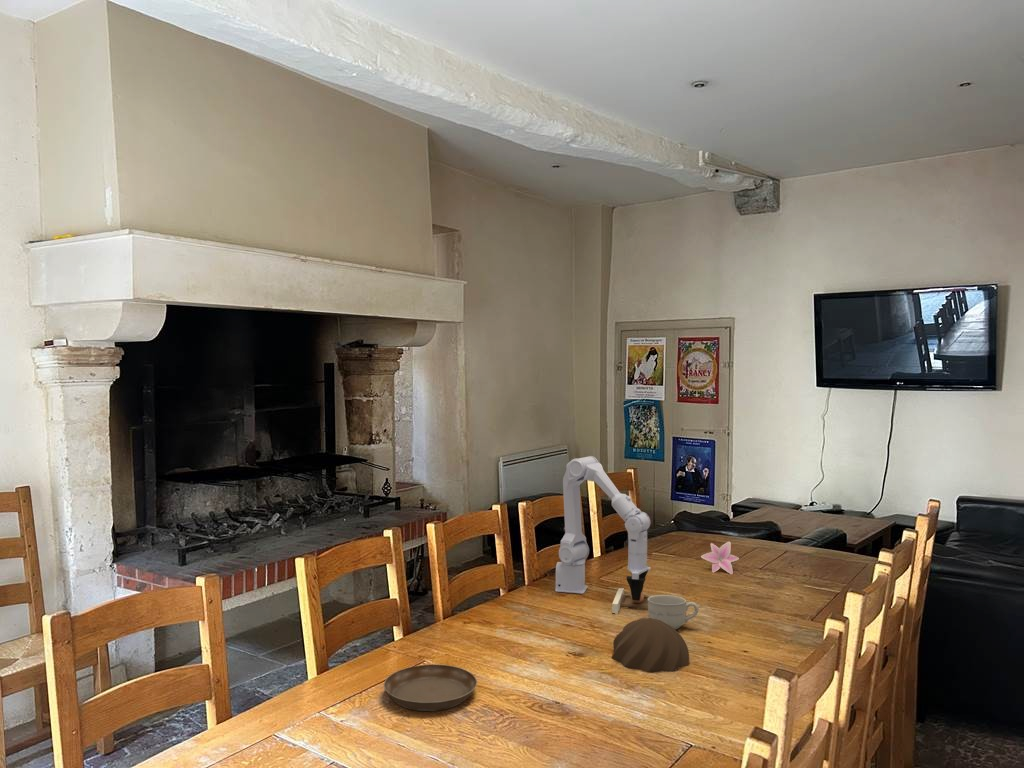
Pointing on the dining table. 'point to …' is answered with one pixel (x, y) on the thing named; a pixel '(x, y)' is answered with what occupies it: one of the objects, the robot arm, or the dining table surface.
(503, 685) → the dining table surface
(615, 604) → the strip
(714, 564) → the lily
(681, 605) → the teacup
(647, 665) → the decorative dome
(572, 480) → the robot arm
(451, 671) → the plant saucer
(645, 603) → the tray
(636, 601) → the ball
